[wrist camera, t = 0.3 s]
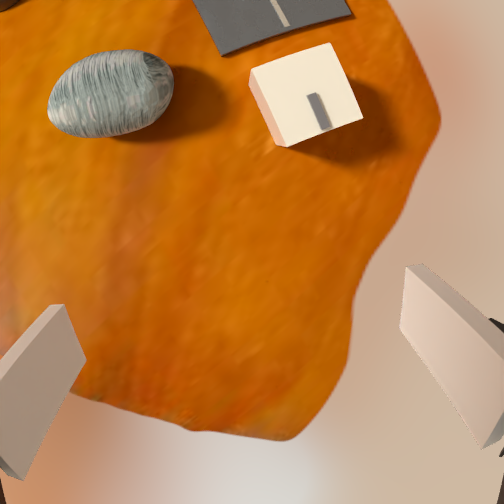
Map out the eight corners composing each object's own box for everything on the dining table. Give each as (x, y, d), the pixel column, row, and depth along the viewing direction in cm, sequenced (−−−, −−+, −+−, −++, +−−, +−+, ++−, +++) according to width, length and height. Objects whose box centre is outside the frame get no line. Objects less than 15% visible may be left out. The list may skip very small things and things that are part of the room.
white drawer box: (248, 84, 32) (251, 68, 23) (309, 62, 31) (331, 41, 23) (275, 144, 34) (287, 147, 26) (336, 121, 33) (365, 117, 25)
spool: (183, 33, 27) (132, 55, 20) (192, 113, 34) (151, 157, 27) (82, 50, 29) (24, 80, 22) (97, 116, 36) (48, 157, 29)
